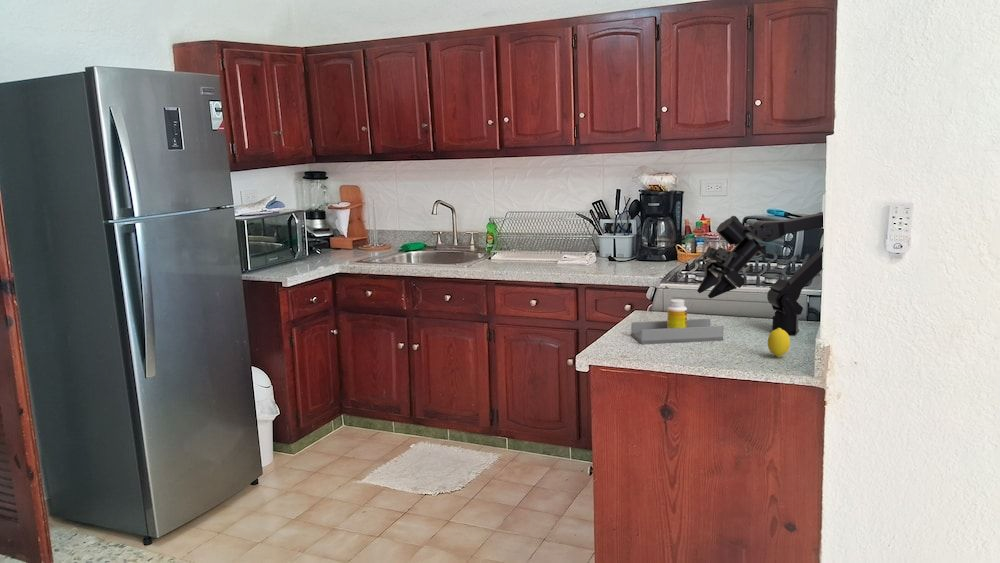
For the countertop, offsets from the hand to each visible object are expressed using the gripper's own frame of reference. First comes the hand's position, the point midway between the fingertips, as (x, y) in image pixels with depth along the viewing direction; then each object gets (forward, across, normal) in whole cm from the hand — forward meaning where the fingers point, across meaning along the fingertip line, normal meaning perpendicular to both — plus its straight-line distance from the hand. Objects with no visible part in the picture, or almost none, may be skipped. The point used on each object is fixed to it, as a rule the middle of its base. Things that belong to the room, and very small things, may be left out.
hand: (703, 294), depth 230 cm
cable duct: (+15, 0, +3) cm, 15 cm away
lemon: (+1, +26, +17) cm, 31 cm away
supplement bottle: (+14, 0, +3) cm, 14 cm away
